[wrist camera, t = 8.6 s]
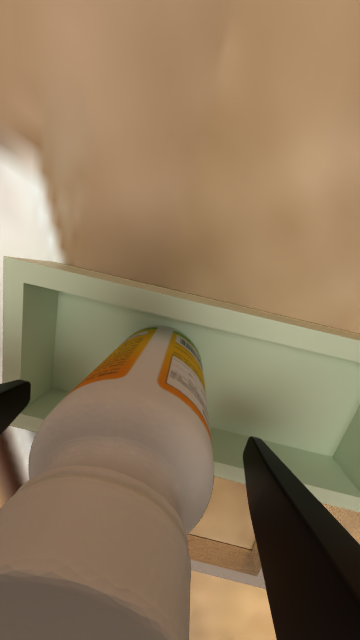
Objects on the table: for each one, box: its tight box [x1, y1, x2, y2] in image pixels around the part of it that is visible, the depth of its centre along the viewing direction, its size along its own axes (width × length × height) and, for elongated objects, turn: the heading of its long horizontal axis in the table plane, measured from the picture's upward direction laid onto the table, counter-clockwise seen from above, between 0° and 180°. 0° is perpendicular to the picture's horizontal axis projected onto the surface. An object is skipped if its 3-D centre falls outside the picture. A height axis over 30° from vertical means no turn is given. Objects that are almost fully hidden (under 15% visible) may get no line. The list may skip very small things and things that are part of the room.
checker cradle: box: [187, 534, 266, 589], centre depth 15 cm, size 11×11×2 cm
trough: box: [3, 256, 360, 512], centre depth 11 cm, size 22×10×4 cm, turn 77°
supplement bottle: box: [0, 326, 214, 640], centre depth 7 cm, size 5×5×10 cm
